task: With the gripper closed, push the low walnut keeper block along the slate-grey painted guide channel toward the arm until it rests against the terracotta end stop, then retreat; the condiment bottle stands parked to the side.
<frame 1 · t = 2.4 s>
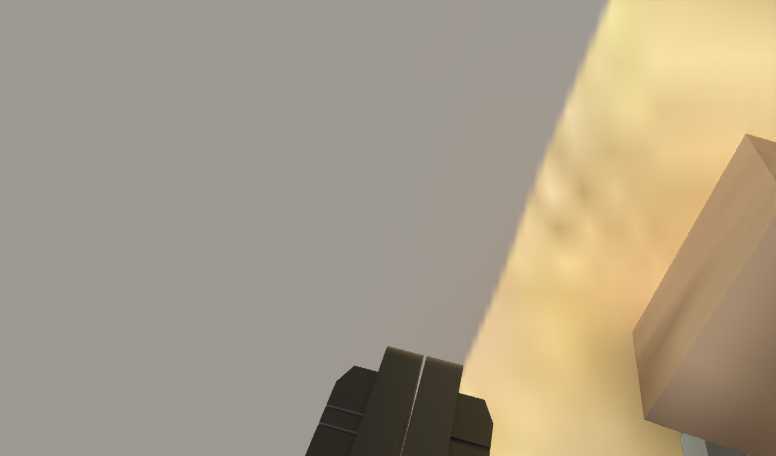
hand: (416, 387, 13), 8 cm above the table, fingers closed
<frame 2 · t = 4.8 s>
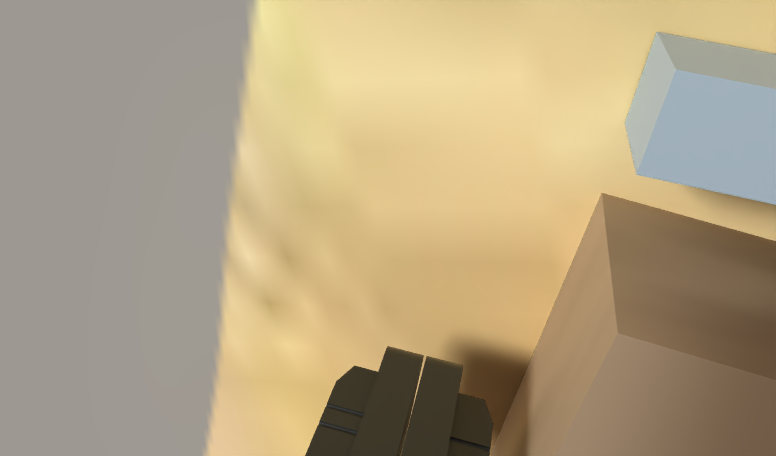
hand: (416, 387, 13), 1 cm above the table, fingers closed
keeper block: (685, 380, 13), on the table, touching gripper
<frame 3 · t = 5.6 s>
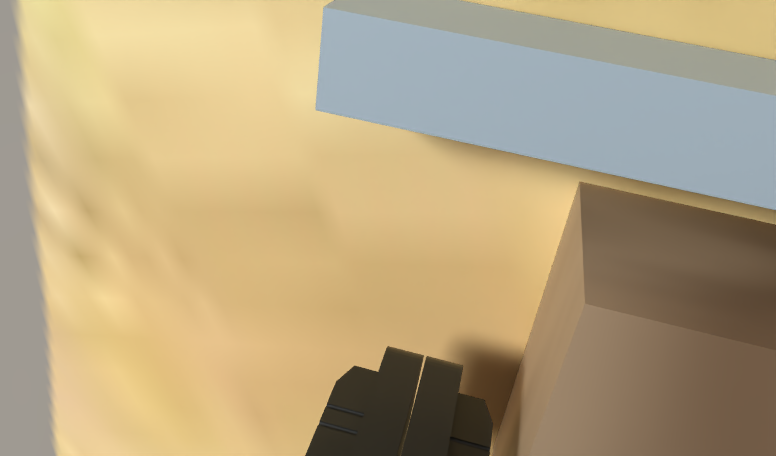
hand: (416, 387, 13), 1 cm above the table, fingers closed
keeper block: (678, 359, 13), on the table, touching gripper
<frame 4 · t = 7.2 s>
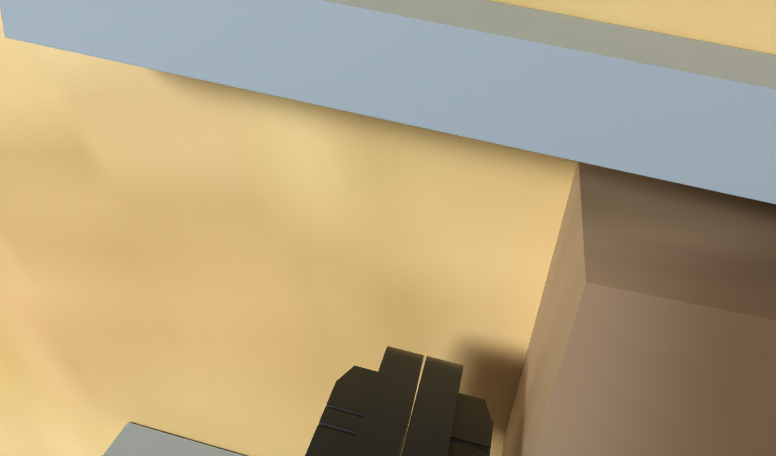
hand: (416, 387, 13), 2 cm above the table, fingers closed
guide track: (524, 362, 14), on the table
keeper block: (689, 342, 13), on the table
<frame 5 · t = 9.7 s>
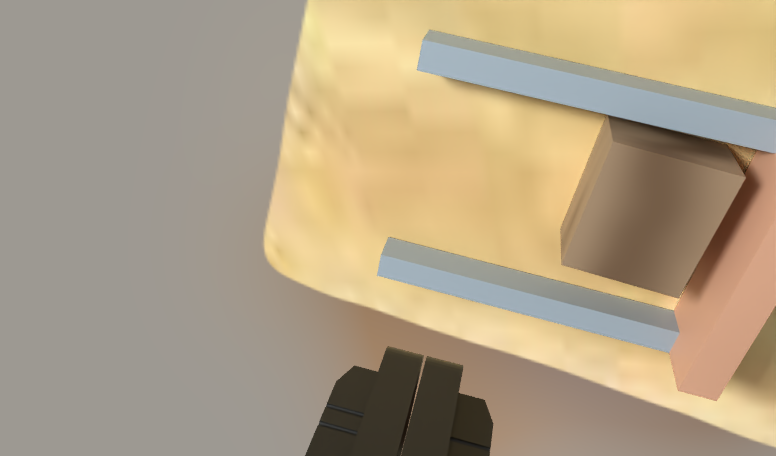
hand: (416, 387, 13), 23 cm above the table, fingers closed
guide track: (574, 196, 35), on the table
keeper block: (638, 187, 35), on the table
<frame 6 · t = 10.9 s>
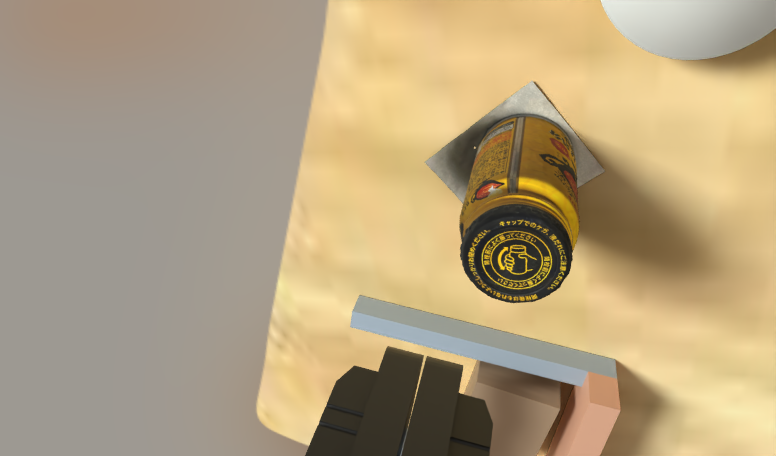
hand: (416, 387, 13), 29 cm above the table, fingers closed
condiment: (512, 163, 41), on the table
guide track: (465, 394, 51), on the table
keeper block: (507, 390, 51), on the table
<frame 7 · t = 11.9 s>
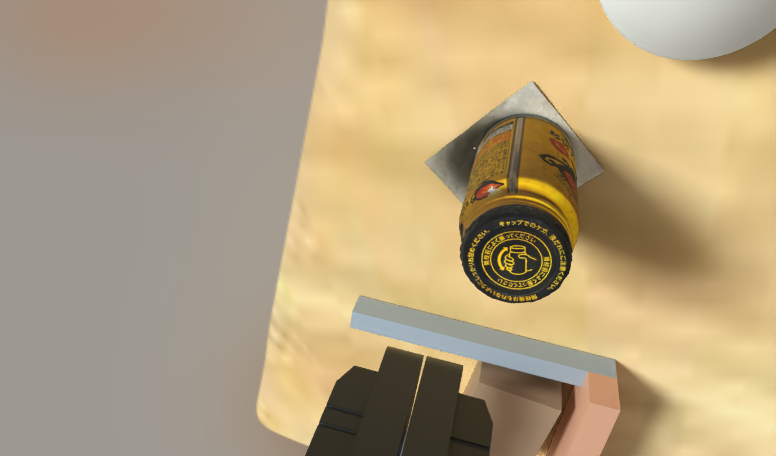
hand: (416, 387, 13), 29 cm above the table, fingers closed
condiment: (512, 163, 41), on the table
guide track: (465, 394, 51), on the table
keeper block: (506, 390, 51), on the table
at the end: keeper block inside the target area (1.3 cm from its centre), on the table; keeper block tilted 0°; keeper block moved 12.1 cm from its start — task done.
